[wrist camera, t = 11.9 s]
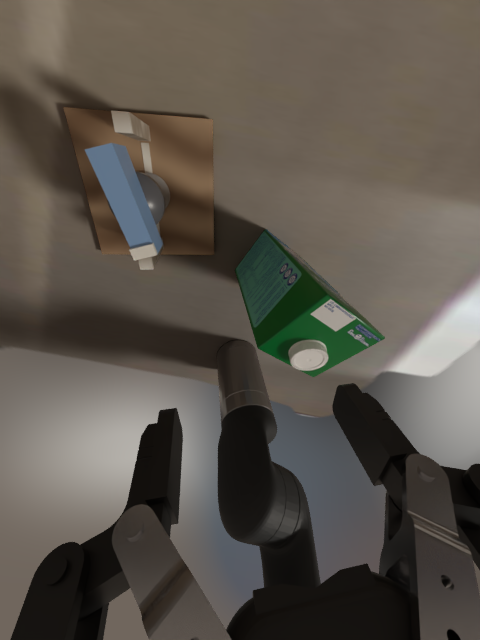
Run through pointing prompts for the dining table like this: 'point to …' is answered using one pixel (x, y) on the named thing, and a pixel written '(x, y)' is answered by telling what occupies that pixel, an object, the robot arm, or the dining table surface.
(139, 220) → the blue long block
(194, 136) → the base plate
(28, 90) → the dining table surface
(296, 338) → the milk carton
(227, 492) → the robot arm
